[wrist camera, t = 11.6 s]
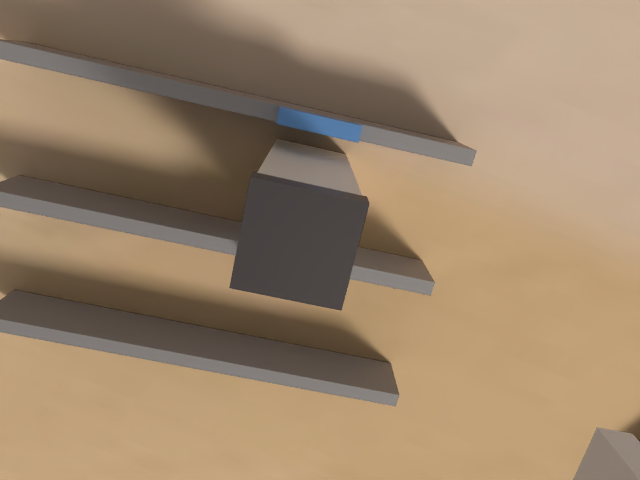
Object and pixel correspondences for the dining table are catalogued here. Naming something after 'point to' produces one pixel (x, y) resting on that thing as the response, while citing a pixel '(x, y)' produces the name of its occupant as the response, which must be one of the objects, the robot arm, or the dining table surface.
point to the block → (300, 226)
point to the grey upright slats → (204, 246)
